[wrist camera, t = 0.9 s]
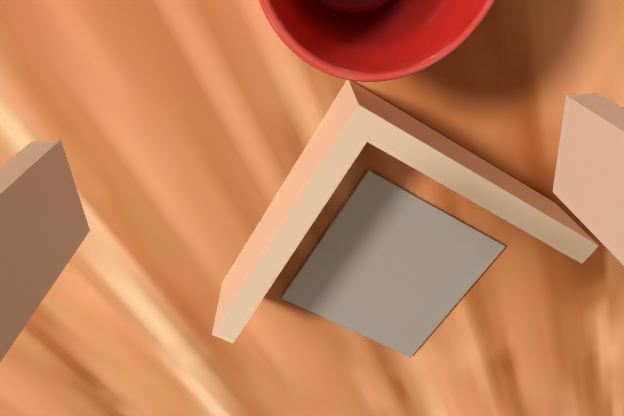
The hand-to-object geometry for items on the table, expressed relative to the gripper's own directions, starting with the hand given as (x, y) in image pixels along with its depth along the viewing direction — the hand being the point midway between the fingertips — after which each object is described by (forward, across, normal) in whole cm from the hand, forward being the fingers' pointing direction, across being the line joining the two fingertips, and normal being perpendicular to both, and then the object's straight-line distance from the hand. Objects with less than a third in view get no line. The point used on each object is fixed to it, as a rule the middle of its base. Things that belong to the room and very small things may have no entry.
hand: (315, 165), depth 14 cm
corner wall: (+20, +5, -15) cm, 26 cm away
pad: (+20, +5, -18) cm, 27 cm away
